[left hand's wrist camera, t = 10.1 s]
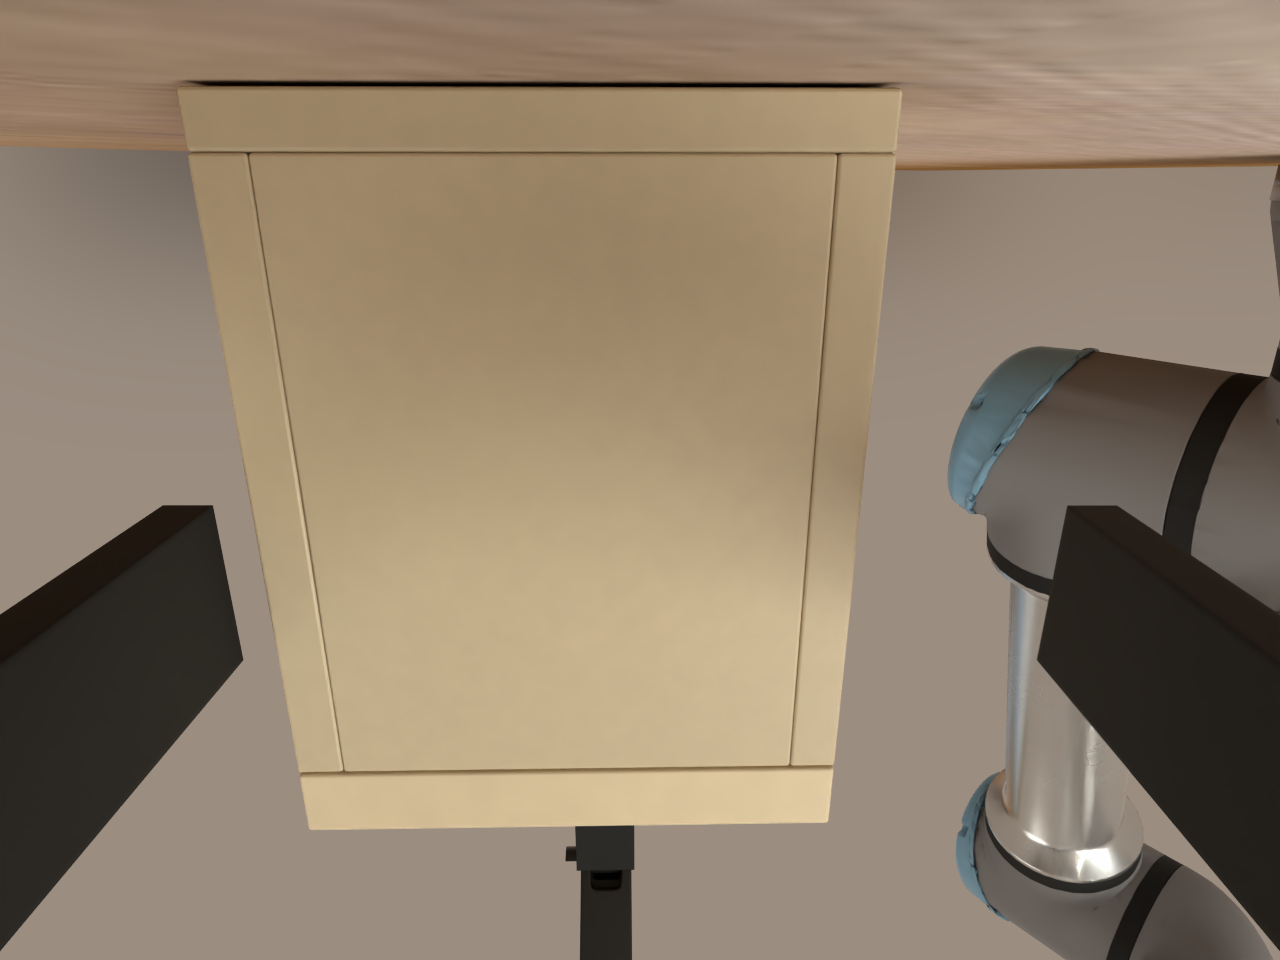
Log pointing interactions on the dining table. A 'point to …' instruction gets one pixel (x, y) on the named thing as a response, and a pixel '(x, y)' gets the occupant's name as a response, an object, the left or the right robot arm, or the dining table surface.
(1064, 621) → the left robot arm
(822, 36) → the dining table surface
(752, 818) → the lid
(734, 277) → the chest
